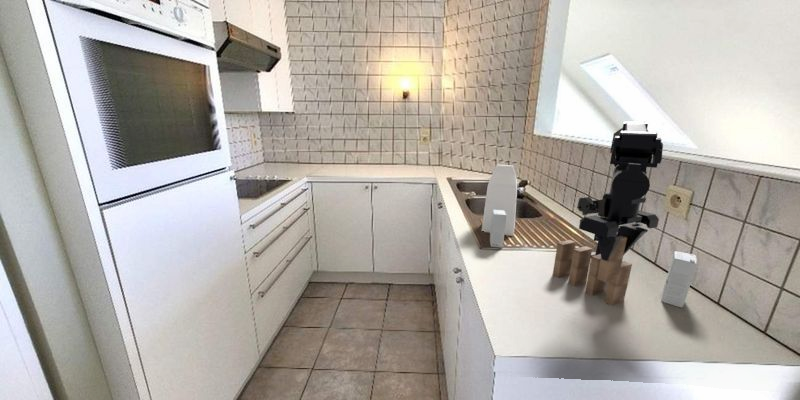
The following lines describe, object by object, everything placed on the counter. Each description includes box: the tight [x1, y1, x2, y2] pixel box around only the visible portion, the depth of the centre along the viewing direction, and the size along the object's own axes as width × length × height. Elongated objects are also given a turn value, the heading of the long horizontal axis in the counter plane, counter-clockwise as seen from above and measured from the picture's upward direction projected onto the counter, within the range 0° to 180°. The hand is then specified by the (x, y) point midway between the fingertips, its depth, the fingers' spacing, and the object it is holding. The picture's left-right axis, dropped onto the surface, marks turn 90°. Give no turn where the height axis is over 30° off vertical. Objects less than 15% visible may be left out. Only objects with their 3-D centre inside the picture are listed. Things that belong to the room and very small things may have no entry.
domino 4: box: [597, 236, 627, 283], centre depth 72 cm, size 5×2×10 cm, turn 114°
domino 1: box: [552, 239, 576, 278], centre depth 90 cm, size 5×2×10 cm, turn 116°
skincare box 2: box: [660, 250, 698, 308], centre depth 78 cm, size 6×4×12 cm
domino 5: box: [603, 260, 633, 306], centre depth 77 cm, size 5×2×10 cm, turn 116°
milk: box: [481, 164, 518, 237], centre depth 125 cm, size 12×12×26 cm
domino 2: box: [567, 245, 593, 286], centre depth 86 cm, size 5×2×10 cm, turn 116°
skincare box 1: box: [489, 210, 507, 248], centre depth 111 cm, size 6×4×12 cm
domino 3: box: [584, 254, 607, 296], centre depth 82 cm, size 5×2×10 cm, turn 116°
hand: (612, 258), depth 72 cm, fingers closed on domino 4, 5 cm apart
